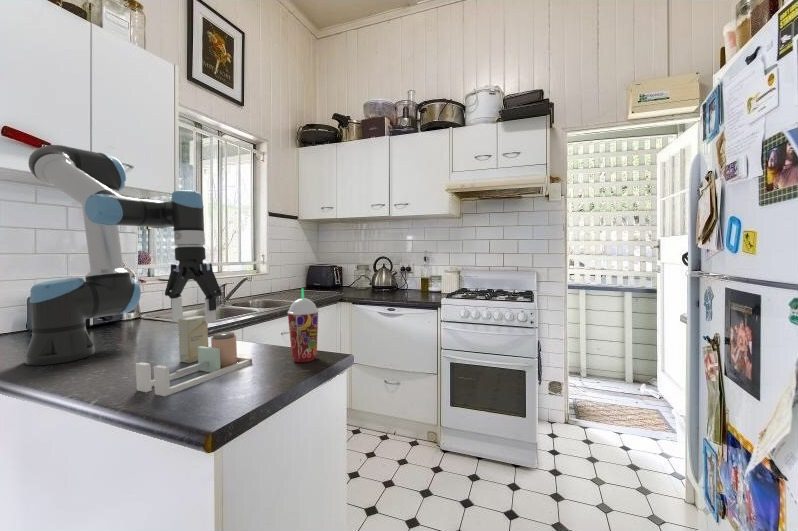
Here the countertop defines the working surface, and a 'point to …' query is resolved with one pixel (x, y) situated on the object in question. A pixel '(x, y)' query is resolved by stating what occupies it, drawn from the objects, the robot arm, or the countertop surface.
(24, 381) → the countertop surface
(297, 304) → the smoothie
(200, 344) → the skincare box
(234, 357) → the jar
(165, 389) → the lane
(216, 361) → the pusher
